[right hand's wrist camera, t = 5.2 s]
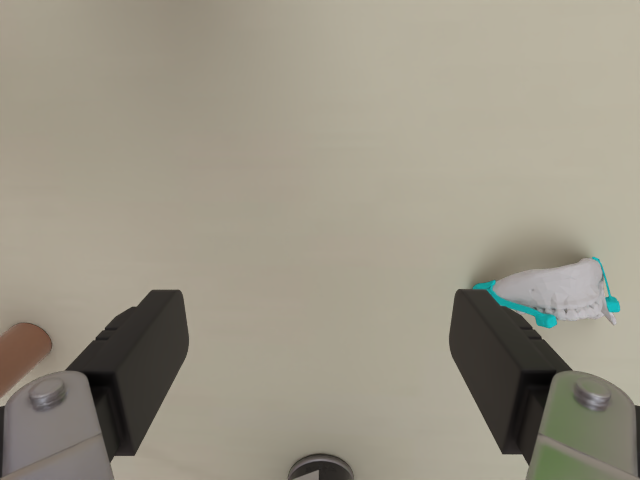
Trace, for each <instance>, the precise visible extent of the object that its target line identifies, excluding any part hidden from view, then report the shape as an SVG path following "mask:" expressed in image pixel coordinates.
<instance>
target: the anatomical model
mask: <svg viewBox="0 0 640 480" xmlns="http://www.w3.org/2000/svg"><path fill="white" fill-rule="evenodd" d="M592 258H593V259H591V258H583V259H581V260H580V261H579V262H578V263H574V264H569V265H565V266H560V267H556V268H549V269H531V270H525V271H522V272H518V273H515V274H512V275H510V276H507V277H505V278H503V279H500V280H498V281H495V280H493V281H490V282H487V283H478V284H476V285H475V286H474V287H473V289H485V290H487V291H488V292H489V293H490V294H491V296H492V297H493V298H494V299H495V300H496V301H497V302H498V304H499V305H500V306H506V307H508V308H509V309H514V310H516V312H517V313H518V314H525V313H527V314H530V315H533V316H535V318H536V323H537V325H538V326H543V327H546V328H552V327H553V326H555V325H557V321H556V318H557V319H558V320H569V321H576V320H578V319H585V318H590V319H598V318H600V317H603V316H605V317H606V318H607V319H608V320H609V321H610V322H611V323H612V324H613V325H616V318H615V317H614V315H613V313H612V312H619V311H620V305H619V302H618V301H617V299H616V298H615V297H612V296H611V294H610V290H609V287H608V283H607V280H606V276H605V273H604V270H603V267H602V264H601V263H600V260H599V259H598V258H595V257H592ZM603 275H604V279H605V282H606V286H607V290H608V294H609V297H605V294H604V289H603ZM565 310H566V311H567V312H566V311H565Z"/></svg>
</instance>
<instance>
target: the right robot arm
mask: <svg viewBox="0 0 640 480" xmlns="http://www.w3.org/2000/svg"><path fill="white" fill-rule="evenodd" d="M449 345H450V351H451V355H452V357H453V359H454V361H455V363H456V365H457V367H458V369H459V371H460V373H461V375H462V377H463V379H464V380H465V382H466V384H467V386H468V388H469V390H470V392H471V394H472V396H473V398H474V400H475V402H476V404H477V406H478V408H479V410H480V411H481V413H482V415H483V417H484V419H485V421H486V423H487V425H488V427H489V429H490V431H491V433H492V435H493V437H494V439H495V441H496V443H497V444H498V446H499V448H500V450H501V452H502V454H523V456H524V458H525V460H526V461H527V463H528V465H529V469H528V472H527V476H526V480H640V406H636V405H634V403H633V401H632V400H631V399H630V397H629V396H628V395H627V394H626V393H625V392H623V391H622V390H621V389H620V388H618V387H617V386H615V385H614V384H612V383H610V382H608V381H607V380H604V379H602V378H600V377H597V376H595V375H592V374H588V373H584V372H579V371H573V370H572V369H571V368H570V367H569V366H568V365H567V364H566V363H565V362H564V360H563V359H562V358H561V357H560V356H559V355H558V354H557V353H556V352H555V351H554V350H553V349H552V348H551V347H550V346H549V344H548V343H547V342H546V341H545V340H544V339H542V338H541V336H540V335H539V334H538V333H537V332H536V331H535V330H533V329H532V326H531V325H530V324H529V323H528V322H527V321H526V320H525V319H524V318H523V317H522V316H521V315H519V314H518V313H516V312H514V311H513V310H511V309H509V308H508V307H506V306H500V305H499V304H498V302H497V301H496V300H495V299H494V298H493V297H492V296H491V294H490V293H489V292H488V291H487V290H485V289H459V290H457V292H456V294H455V298H454V305H453V312H452V319H451V326H450V333H449ZM188 346H189V334H188V327H187V320H186V313H185V306H184V299H183V295H182V292H181V291H180V290H152V291H150V292H149V294H148V295H147V296H146V297H145V298H144V299H143V300H142V301H141V303H140V304H139V305H138V306H137V307H131V308H129V309H128V310H126V311H124V312H123V313H121V314H119V315H118V316H116V317H115V318H114V319H113V320H112V321H111V322H110V323H109V324H108V325H107V326H106V327H105V330H103V331H102V332H101V333H100V334H99V335H98V336H97V337H96V340H93V341H92V342H91V343H90V344H89V345H88V347H87V348H86V349H85V350H84V351H83V352H82V353H81V354H80V355H79V356H78V357H77V358H76V359H75V360H74V361H73V362H72V363H71V365H70V366H69V367H68V368H67V369H66V370H65V371H61V372H56V373H52V374H48V375H45V376H43V377H40V378H38V379H36V380H33V381H32V382H30V383H28V384H26V385H25V386H23V387H22V388H20V389H19V390H18V391H17V392H15V393H14V394H13V395H12V396H11V397H10V399H9V400H8V401H7V403H6V405H5V406H2V407H0V480H114V476H113V472H112V469H111V465H110V462H111V461H112V459H113V457H114V456H135V454H136V452H137V450H138V448H139V446H140V444H141V442H142V440H143V438H144V436H145V435H146V433H147V431H148V429H149V427H150V425H151V423H152V421H153V419H154V417H155V415H156V413H157V412H158V410H159V408H160V406H161V404H162V402H163V400H164V398H165V396H166V394H167V392H168V390H169V389H170V387H171V385H172V383H173V381H174V379H175V377H176V375H177V373H178V371H179V369H180V367H181V366H182V364H183V362H184V360H185V358H186V355H187V352H188ZM288 480H354V476H353V472H352V470H351V468H350V467H349V466H348V465H347V464H346V463H345V462H344V461H342V460H341V459H339V458H336V457H333V456H329V455H313V456H309V457H306V458H303V459H301V460H300V461H298V462H297V463H296V464H294V465H293V467H292V468H291V470H290V472H289V475H288Z"/></svg>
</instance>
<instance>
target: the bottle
mask: <svg viewBox="0 0 640 480" xmlns="http://www.w3.org/2000/svg"><path fill="white" fill-rule="evenodd" d="M51 346H52V345H51V340H50V338H49V336H48V335H47V333H46V332H45V331H44V330H42V329H41V328H39V327H38V326H35V325H33V324H29V323H20V324H16V325H14V326H12V327H11V328H10V329H8V330H7V331H6V332H4V333H3V334H1V335H0V399H1V398H2V397H3V396H4V395H5V394H6V393H7V392H8V391H9V390H10V389H12V388H13V387H14V386H15V385H16V384H17V383H18V382H19V381H20V380H21V379H22V378H23V377H24V376H25V375H27V374H28V373H29V372H30V371H31V370H32V369H33V368H34V367H35V366H36V365H37V364H38V363H39V362H40V361H41V360H43V359H44V358H45V357H46V356H47V355H48V354H49V352H50V351H51Z"/></svg>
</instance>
